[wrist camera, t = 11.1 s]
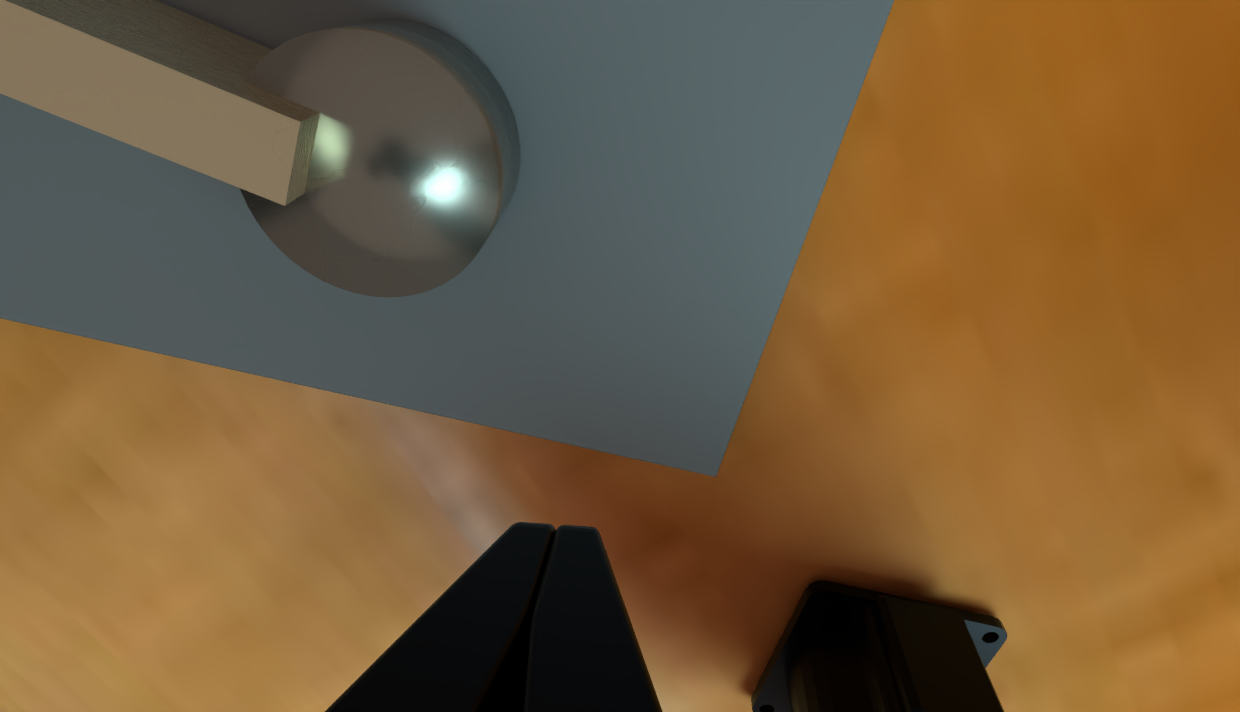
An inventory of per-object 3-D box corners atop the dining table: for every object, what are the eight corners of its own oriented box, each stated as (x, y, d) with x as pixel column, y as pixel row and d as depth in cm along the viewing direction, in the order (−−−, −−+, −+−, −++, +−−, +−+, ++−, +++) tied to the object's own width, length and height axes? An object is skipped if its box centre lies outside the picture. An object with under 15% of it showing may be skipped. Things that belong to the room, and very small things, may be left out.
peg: (553, 80, 15) (525, 110, 12) (481, 286, 17) (444, 351, 14) (-94, -206, 13) (-300, -247, 10) (-75, 66, 15) (-239, 92, 13)
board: (713, 450, 21) (717, 501, 19) (-76, 274, 20) (-156, 309, 18) (1022, -401, 12) (1089, -467, 10) (-372, -815, 11) (-597, -981, 9)
